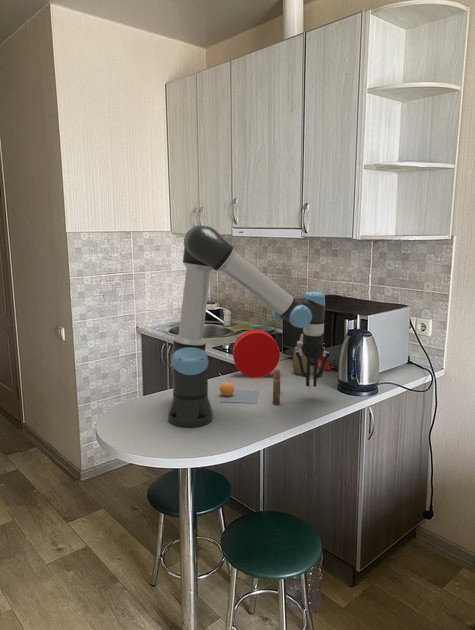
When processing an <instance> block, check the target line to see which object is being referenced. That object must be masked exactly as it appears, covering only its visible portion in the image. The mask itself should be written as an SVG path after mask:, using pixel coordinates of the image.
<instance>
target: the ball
mask: <svg viewBox="0 0 475 630" xmlns="http://www.w3.org/2000/svg"><path fill="white" fill-rule="evenodd" d="M234 390H235V386H234V385H233V383H232V382H230V381H224V382H222V383H221V384H220V386H219V392H220V394H221V396H222V395H224V396H230V395H231V394H232V393H233V392H234Z"/></svg>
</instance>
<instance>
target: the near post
mask: <svg viewBox="0 0 475 630" xmlns="http://www.w3.org/2000/svg"><path fill="white" fill-rule="evenodd" d="M272 384H273V385H272V405H274V406H280V405H281V404H280V403H281V379H280V380H279V379H275V380H273V381H272Z"/></svg>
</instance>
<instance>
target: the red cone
mask: <svg viewBox="0 0 475 630" xmlns="http://www.w3.org/2000/svg"><path fill="white" fill-rule="evenodd" d="M324 350H325V351H326V349H325V347H324ZM322 359H323V353H322V354H321V355H320V357H319V358H318V362H317V370H319V369H320V365H321V362H322ZM330 370H332V369H331V368H330V367H329V363H328V360H326V364H325V367H324V371H323V372H325V371H326V372H331V371H330ZM332 371H333V370H332Z"/></svg>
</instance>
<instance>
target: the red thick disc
mask: <svg viewBox="0 0 475 630" xmlns="http://www.w3.org/2000/svg"><path fill="white" fill-rule="evenodd" d="M232 347H233V348H232V358H233V362H234V365H235V367H236V369H237V370H238V371H239V372H240V374H242V375H244V376H246V377H249V378H253V379H255V378H256V379H258V378H263V377H265V376H268V375H270V374H271V373H272V372H274V370H276V368H277V367H278V365H279V361H280V359H281V352H280V348H279V345H278V343H277V342H276V340H275V338H274V337H273V336H272V335H271V334H270V333H268V332H267V331H264V330H261V329H250V330H247V331H245V332H243V333H241V334H240V335H239V336H238V338H236V340H235V342H234V344H233V346H232Z"/></svg>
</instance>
